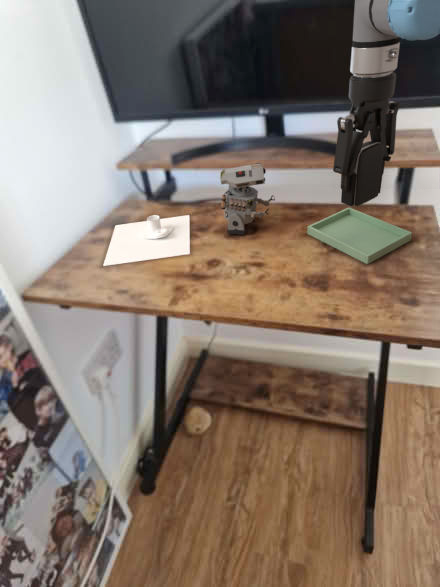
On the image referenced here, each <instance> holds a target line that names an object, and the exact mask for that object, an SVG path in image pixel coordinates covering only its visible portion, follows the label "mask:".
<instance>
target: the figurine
mask: <svg viewBox="0 0 440 587" xmlns="http://www.w3.org/2000/svg"><path fill="white" fill-rule="evenodd" d="M266 172H267V171H266V168H264V167H263V162H256V163H253V164H248V165H247V164H246V165H241V166H235V167H230V168H229V167H228V168H225V169H222V170H221V171H220V177H219V178H220V179H219V180H220V185H229V186H228V189H227V191H226V192H224V194H222V195H221V206H220V209H221V210H224V213H223V214H224V215H223V218H224V219H225V220H226V221H227V234H228V235H229V236H232V235H233V236H235V235H238V236H245V235H246V234H247V229H246V227H245V225H246V224H252V222H253V221H254V220H255V218H259V219H261V218H262V217H263V216H264V215H268V216H269V214H270V212H269V210H270V208H269V205H270V202H271V201H276V198H275V196H274V195H273V194H272V195H271V196H270V198H269V199H268V200H266V199H262V198H261V197H259V198H258V194H259V190H257V189H256V188H254V187H253V186H257V185H258V186H259V185H264V184H266V177H265V174H266ZM257 204H258V205H264V206H265V207H267V209H266V210H265V211H263V212H262V211H258V212H256V210H257Z"/></svg>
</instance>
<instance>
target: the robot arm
mask: <svg viewBox="0 0 440 587" xmlns="http://www.w3.org/2000/svg"><path fill="white" fill-rule="evenodd" d="M353 11H354V12H353V26H352V27H353V28H352V44H351V45H352V46H351V53H350V55H351V56H350V66H349V71H350V73H351V74H352V75H351V76H350V77H349V84H348V87H349V88H348V99H349V100H350V101H351V108H350V111H349V114H347V115H346V116H345V117H343V116H340V117H338V118H337V120H336V123H337V124H336V125H337V139H336V144H335V145H336V146H335V153H334V160H333V167H332V171H333V172H334V173H336V174H340V175H341V176H340V189H341V194H340V195H341V198H340V203H342V204H343V205H347V206H349V207H354V206H353V205H354V198H355V187H356V175H357V174H355V173H353V172H354V169H355V166H356V163H357V160H358V155H359V153H360V151H361V147H362V144H363V143H364V141H365V139H366V138H368V136H369V135H370V141H372V142H379V143H381V144H383V146H384V155H383V163H382V170H381V177H380V183H379V191H378V195H379V194H381V191H382V190H381V189H382V181H383V175H384V172H385V165H386V162H390V161H391V160H392V155H394V153H395V147H396V132H397V131H396V130H397V119H398V118H397V117H398V112H399V108H400V102H399V101H393V100H389V99H391V98H392V97H393V96H394V94H395V89H396V88H395V87H396V80H397V74H396V73H395V72H394V71H395V70H396V69H397V68H398V61H399V54H400V44H401V40H406V41H411V42H414V41H417V40H418V41H420V40H421V41H427V40H430V39H433V38H435V37H437V36H438V35H440V0H354V10H353ZM348 167H349V168H348Z"/></svg>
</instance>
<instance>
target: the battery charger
mask: <svg viewBox="0 0 440 587" xmlns="http://www.w3.org/2000/svg"><path fill="white" fill-rule="evenodd" d="M383 155H384V146H383V144H381V143H379V142H372V141H371V140H368V141H365V142H363V144H362V147H361V151H360V153H359V155H358V160H357V163H356V166H355V169H354V172H353V173H355V174H357V175H356V187H355V198H354V205H353V206H352V207H359V206H362V205H364V204H366V203H368V202H370V201H372V200H374V199H376V198H377V197H378V196H379V194H378V191H379V183H380V177H381V170H382V163H383ZM348 168H349V167H348Z"/></svg>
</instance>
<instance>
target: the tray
mask: <svg viewBox="0 0 440 587" xmlns="http://www.w3.org/2000/svg"><path fill="white" fill-rule="evenodd" d="M306 231H307V232H306V234H307V235H309V236H311V237H313V238H315V239H317V240H319V241H320V242H323V243H324V244H327V245H328V246H331V247H332V248H334V249H336V250H339V251H340V252H342V253H344V254H346V255H347V256H350V257H352V258H353V259H356V260H358V261H360V262H362V263H363V264H366V265H370V263H372V262H374V261H376V260H379V259H380V258H382V257H383V256H385V255H387V254H389V253H390V252H392V251H394V250H396V249H398V248H400V247H402V246H403V245H405V244H407V243H408V242H410V241H412V236H413V232H412V231H410V230H407V229H405V228H402V227H400V226H397V225H394V224H392V223H390V222H387V221H385V220H382V219H379V218H378V217H375V216H372V215H369V214H367V213H364V212H362V211H359V210H357V209H355V208H352V207H351V206H349V207H346V208H344V209H342V210H340V211H338V212H336V213H333V214H331V215H329V216H327V217H325V218H323V219H321V220H318V221H316V222H314V223H312V224H310V225H308V226H307V229H306Z"/></svg>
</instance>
